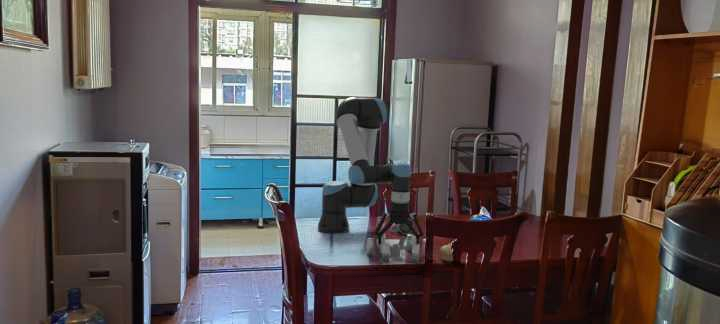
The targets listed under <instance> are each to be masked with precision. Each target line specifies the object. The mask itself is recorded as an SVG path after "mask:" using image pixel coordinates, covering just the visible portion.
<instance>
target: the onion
mask: <svg viewBox="0 0 720 324" xmlns="http://www.w3.org/2000/svg"><path fill="white" fill-rule="evenodd" d="M451 243H452V242H451ZM451 243H450V242H447V244H445V245H443V246H441V247H440V249H439V250H438V255H439V257H440V259H441V261H442V260H443V261H442V262H445V261H447V263H452V262H451V261H452V249H451Z"/></svg>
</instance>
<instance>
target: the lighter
mask: <svg viewBox="0 0 720 324" xmlns="http://www.w3.org/2000/svg"><path fill="white" fill-rule="evenodd" d="M406 239H407V236H403V235H401V237H400V239H399V240H400V241H399V244H393V246H391V247H390V249H389V258H392V259H393V258H399V257H401V248H400V246H401V247H403V245H404V243H405V240H406Z"/></svg>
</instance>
